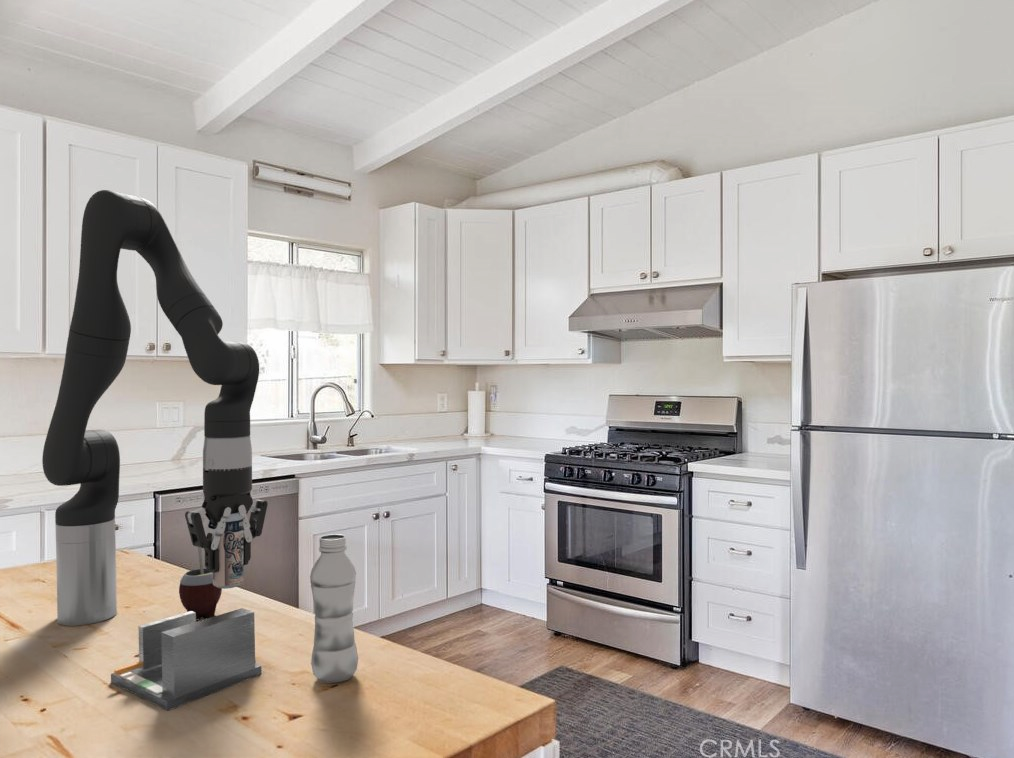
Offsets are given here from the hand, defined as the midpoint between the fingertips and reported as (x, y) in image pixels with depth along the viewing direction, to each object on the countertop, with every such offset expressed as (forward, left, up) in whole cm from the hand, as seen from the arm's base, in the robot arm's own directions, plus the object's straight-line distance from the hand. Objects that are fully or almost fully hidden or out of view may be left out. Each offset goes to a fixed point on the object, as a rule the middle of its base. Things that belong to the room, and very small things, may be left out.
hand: (228, 567), depth 122 cm
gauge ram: (+5, -15, -10) cm, 18 cm away
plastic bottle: (+27, -1, -12) cm, 30 cm away
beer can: (0, 0, -3) cm, 3 cm away
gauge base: (+10, -13, -11) cm, 20 cm away
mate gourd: (-14, +3, -12) cm, 18 cm away
